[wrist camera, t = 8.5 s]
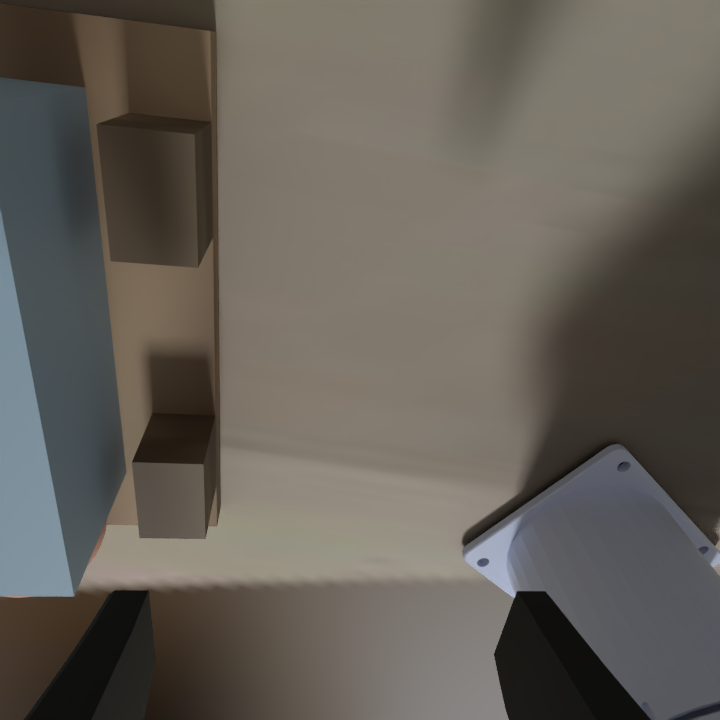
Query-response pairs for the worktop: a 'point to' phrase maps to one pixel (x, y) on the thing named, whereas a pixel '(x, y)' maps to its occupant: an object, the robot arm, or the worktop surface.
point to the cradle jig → (148, 242)
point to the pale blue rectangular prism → (53, 346)
